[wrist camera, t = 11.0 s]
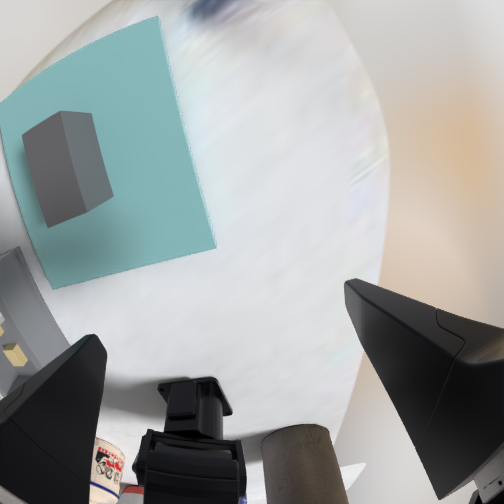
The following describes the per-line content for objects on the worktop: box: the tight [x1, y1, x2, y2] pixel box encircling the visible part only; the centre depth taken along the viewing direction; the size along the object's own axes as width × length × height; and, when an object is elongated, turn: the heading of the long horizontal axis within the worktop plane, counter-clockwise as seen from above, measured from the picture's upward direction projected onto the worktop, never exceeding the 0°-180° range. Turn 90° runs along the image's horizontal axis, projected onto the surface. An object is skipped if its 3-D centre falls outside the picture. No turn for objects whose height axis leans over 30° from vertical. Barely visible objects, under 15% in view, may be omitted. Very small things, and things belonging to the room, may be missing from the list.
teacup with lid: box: [89, 438, 125, 504], centre depth 27 cm, size 12×9×12 cm
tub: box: [0, 246, 71, 398], centre depth 20 cm, size 16×14×5 cm
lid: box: [0, 16, 217, 290], centre depth 15 cm, size 17×15×6 cm
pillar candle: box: [261, 424, 349, 504], centre depth 26 cm, size 10×10×15 cm
